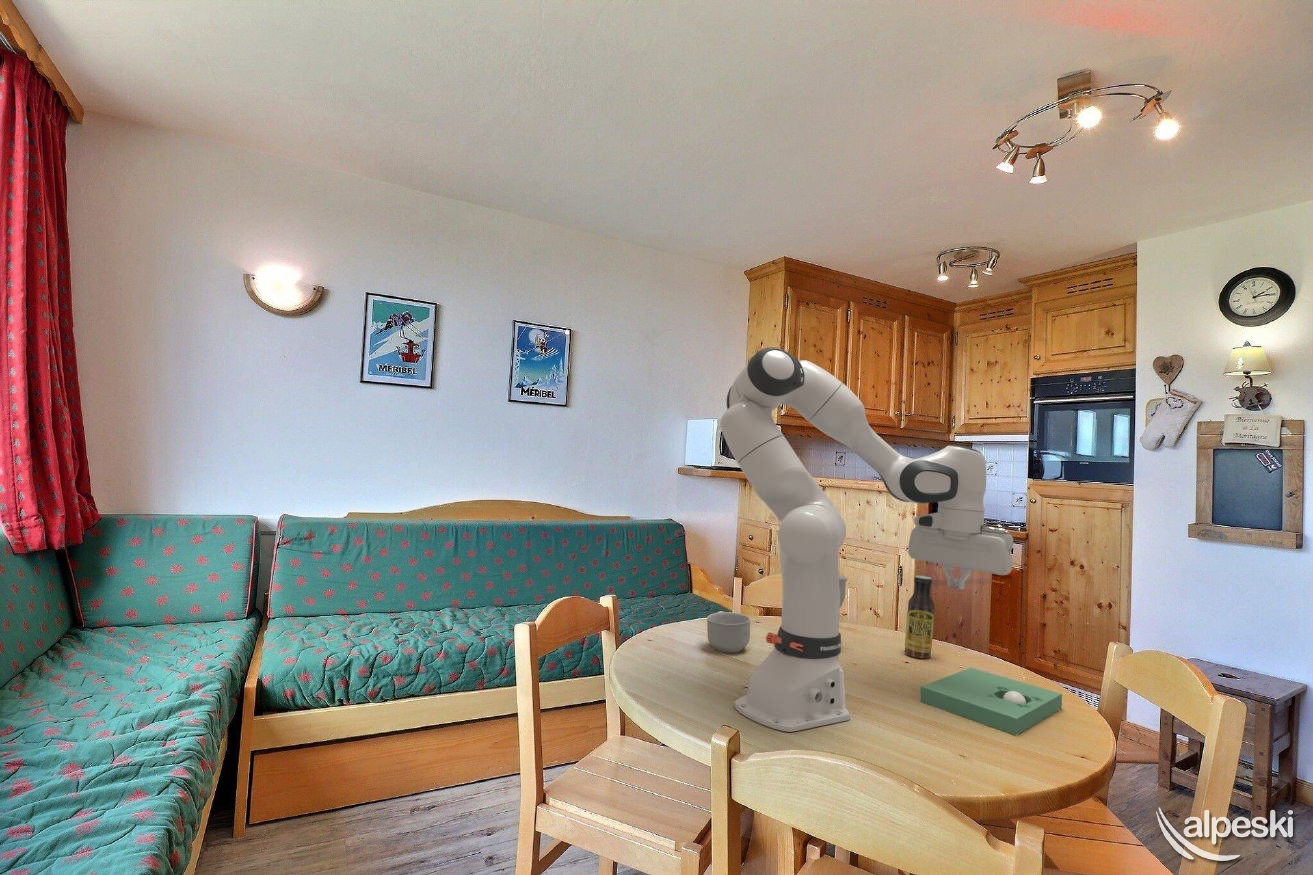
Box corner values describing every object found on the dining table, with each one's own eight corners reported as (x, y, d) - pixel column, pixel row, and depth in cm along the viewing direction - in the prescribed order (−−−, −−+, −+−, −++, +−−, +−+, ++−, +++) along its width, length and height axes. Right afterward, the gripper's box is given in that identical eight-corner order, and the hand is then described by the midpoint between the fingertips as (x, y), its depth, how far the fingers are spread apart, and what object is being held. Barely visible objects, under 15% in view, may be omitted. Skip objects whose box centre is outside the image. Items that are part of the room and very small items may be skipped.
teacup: (752, 657, 148) (753, 623, 148) (706, 654, 148) (708, 621, 148) (744, 640, 162) (745, 609, 162) (703, 637, 162) (704, 607, 162)
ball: (1032, 696, 120) (1012, 689, 124) (1020, 693, 118) (1000, 686, 122) (1029, 717, 119) (1008, 709, 123) (1017, 715, 118) (996, 707, 121)
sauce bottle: (904, 657, 154) (907, 577, 154) (904, 650, 159) (906, 573, 160) (933, 661, 151) (936, 580, 152) (931, 654, 157) (934, 575, 158)
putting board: (1016, 735, 111) (1016, 718, 111) (920, 701, 125) (920, 686, 125) (1061, 708, 124) (1062, 693, 125) (970, 680, 139) (970, 667, 139)
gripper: (1019, 529, 125) (1015, 597, 125) (920, 516, 140) (915, 576, 140) (1008, 530, 121) (1003, 601, 121) (907, 516, 136) (902, 579, 136)
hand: (955, 587), depth 130 cm, fingers closed
